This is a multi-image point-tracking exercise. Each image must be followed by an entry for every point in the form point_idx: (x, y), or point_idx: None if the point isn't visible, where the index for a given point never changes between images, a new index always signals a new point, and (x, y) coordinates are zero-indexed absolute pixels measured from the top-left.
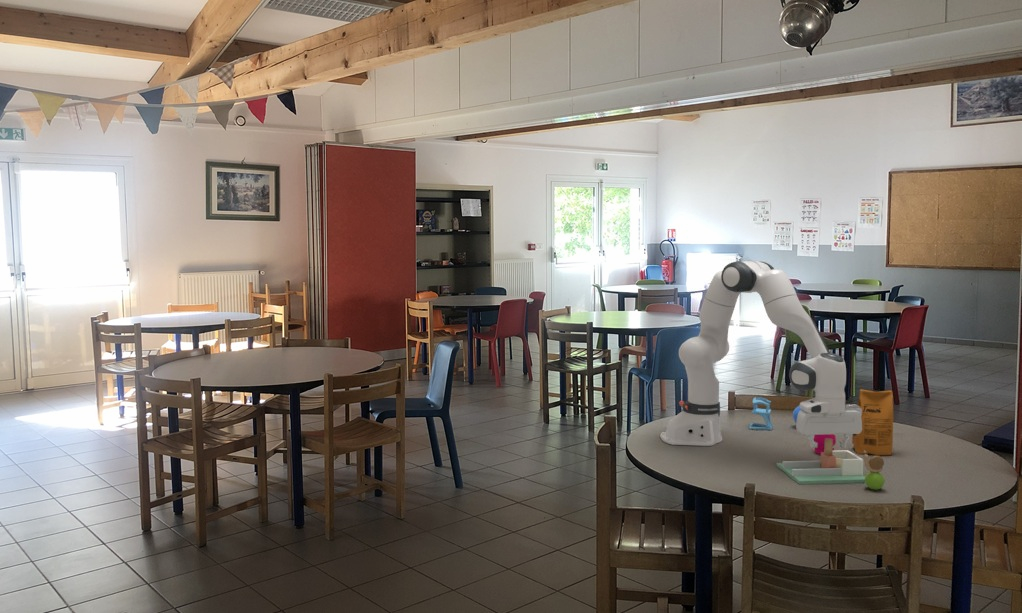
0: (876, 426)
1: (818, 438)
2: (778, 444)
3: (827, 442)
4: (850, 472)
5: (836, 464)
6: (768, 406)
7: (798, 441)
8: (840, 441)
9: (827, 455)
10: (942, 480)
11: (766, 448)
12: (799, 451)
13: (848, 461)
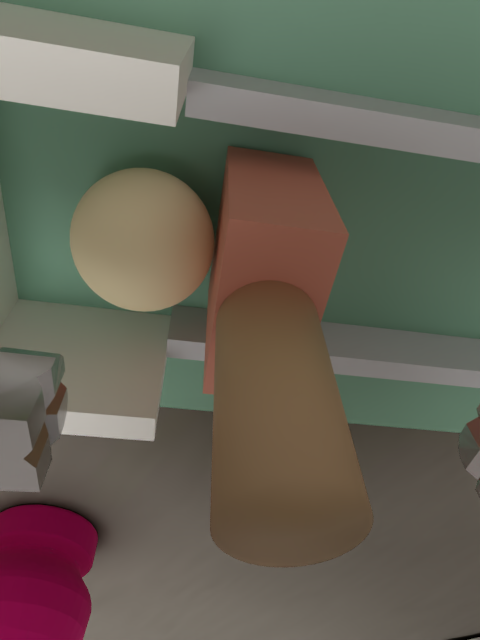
0: None
1: (69, 627)
2: (217, 614)
3: (352, 451)
4: (86, 22)
5: (192, 203)
6: None
7: (103, 626)
8: (35, 468)
9: (306, 293)
10: None
11: (307, 591)
12: (173, 555)
13: (83, 42)
